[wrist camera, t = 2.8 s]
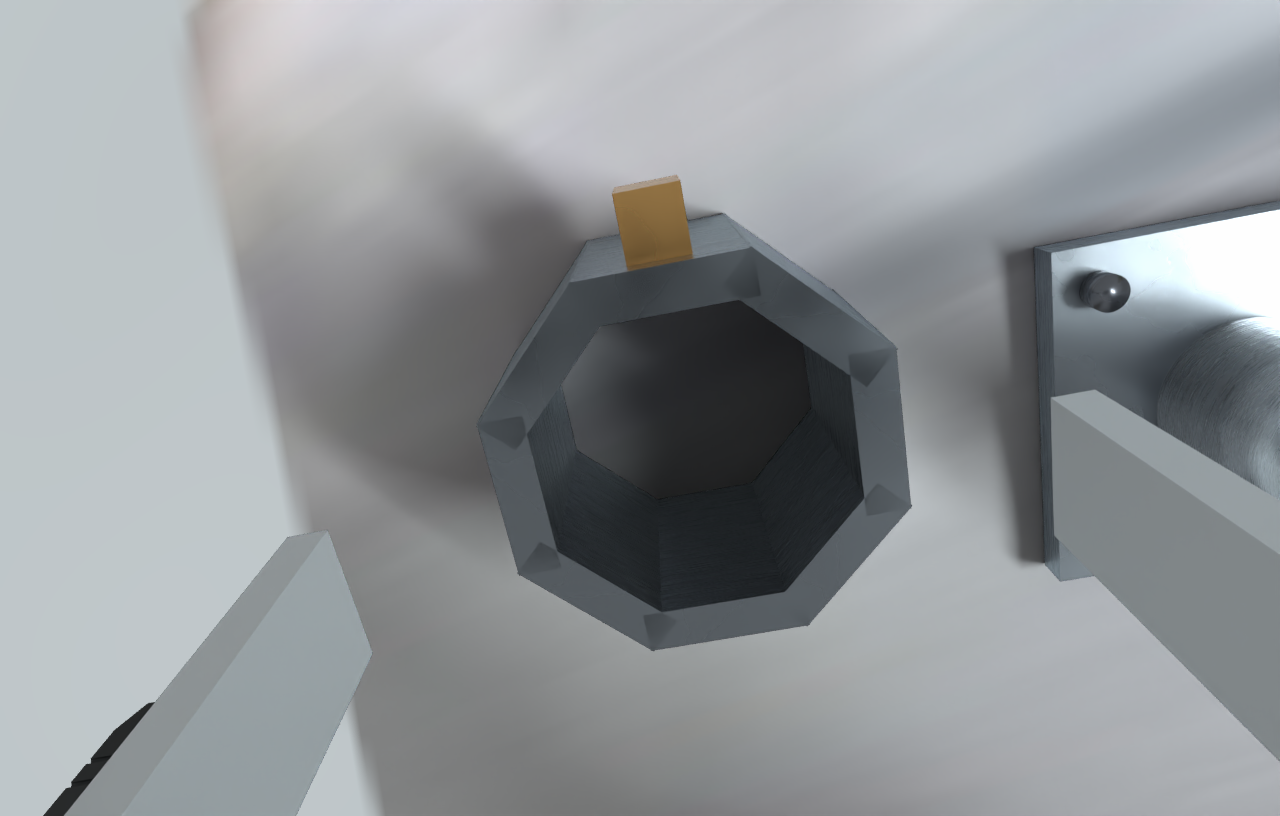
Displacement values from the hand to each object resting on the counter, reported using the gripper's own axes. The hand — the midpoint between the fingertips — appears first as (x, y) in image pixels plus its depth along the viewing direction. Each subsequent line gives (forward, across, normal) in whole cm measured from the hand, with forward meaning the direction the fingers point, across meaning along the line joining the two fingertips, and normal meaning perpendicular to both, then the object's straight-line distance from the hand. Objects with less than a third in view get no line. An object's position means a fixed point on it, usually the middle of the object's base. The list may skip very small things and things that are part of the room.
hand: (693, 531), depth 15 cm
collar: (+9, 0, 0) cm, 9 cm away
